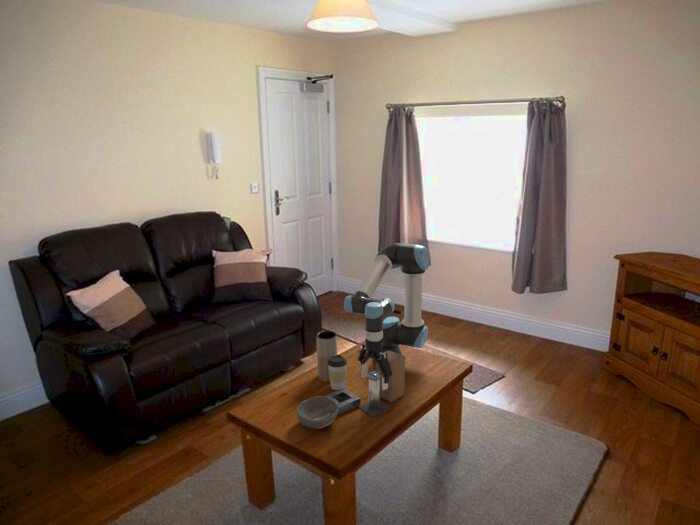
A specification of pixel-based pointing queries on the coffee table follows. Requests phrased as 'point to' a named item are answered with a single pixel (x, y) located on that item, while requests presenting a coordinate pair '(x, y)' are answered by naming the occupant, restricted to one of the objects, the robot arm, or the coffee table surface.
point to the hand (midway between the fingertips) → (374, 382)
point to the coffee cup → (337, 372)
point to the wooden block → (393, 377)
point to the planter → (325, 352)
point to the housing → (344, 394)
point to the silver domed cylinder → (374, 389)
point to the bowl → (317, 412)
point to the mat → (374, 413)
